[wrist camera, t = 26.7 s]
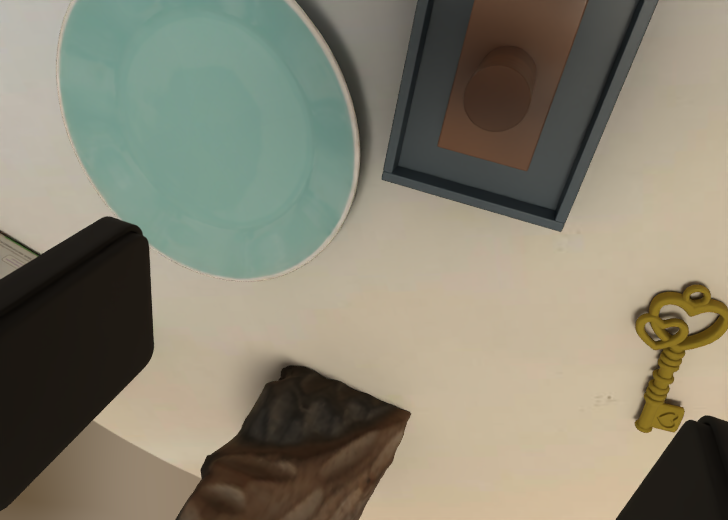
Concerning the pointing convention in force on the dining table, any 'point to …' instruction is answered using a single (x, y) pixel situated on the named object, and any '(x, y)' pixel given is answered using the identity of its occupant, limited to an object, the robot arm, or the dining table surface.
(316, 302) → the dining table surface
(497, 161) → the rubber stamp
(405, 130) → the tray
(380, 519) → the dining table surface
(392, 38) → the dining table surface
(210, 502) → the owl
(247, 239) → the plate
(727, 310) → the key
